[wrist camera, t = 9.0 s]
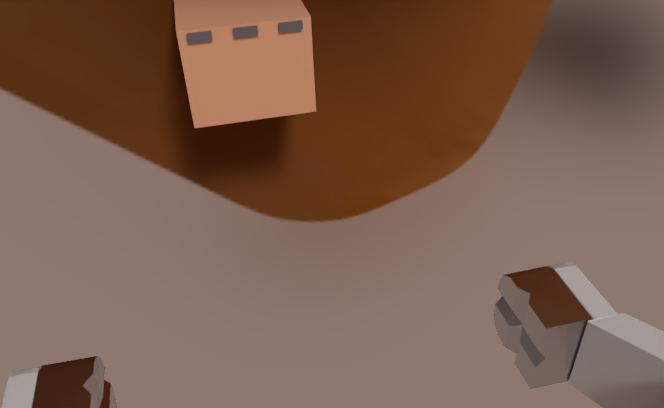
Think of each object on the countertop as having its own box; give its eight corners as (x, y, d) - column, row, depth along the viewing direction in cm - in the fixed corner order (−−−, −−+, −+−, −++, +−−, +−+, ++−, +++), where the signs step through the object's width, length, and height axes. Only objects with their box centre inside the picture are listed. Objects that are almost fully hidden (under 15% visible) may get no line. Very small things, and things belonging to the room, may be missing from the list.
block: (189, 77, 29) (194, 130, 25) (173, -9, 26) (176, 33, 22) (294, 64, 29) (316, 113, 25) (288, -21, 27) (311, 17, 23)
